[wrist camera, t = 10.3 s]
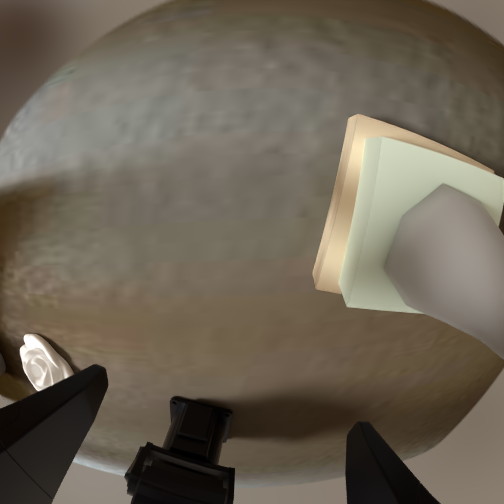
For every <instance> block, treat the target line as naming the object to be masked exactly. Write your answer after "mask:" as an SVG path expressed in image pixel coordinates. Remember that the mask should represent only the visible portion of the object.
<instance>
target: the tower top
mask: <svg viewBox="0 0 504 504" xmlns="http://www.w3.org/2000/svg"><path fill="white" fill-rule="evenodd" d="M442 183H443V184H445V185H447V186H450V187H452V188H454V189H456V190H458V191H460V192H462V193H464V194H466V195H468V196H470V197H472V198H474V199H476V200H478V201H480V202H481V204H482V205H483V206H484V207H485V209H486V210H487V211H488V213H489V214H490V216H491V217H492V218H493V220H494V221H495V223H496V224H497V226H498V227H499V222H500V218H501V214H502V209H503V204H504V179H503V178H501V177H499V176H497V175H495V174H492V173H490V172H488V171H485V170H483V169H480V168H478V167H475V166H473V165H470V164H468V163H465V162H463V161H460V160H457V159H454V158H452V157H449V156H446V155H443V154H440V153H437V152H434V151H431V150H428V149H425V148H422V147H418V146H415V145H412V144H408V143H405V142H401V141H397V140H394V139H390V138H386V137H372V138H365V143H364V150H363V158H362V165H361V171H360V178H359V184H358V190H357V196H356V202H355V207H354V213H353V218H352V223H351V228H350V233H349V238H348V243H347V247H346V252H345V256H344V261H343V265H342V269H341V273H340V278H339V282H338V284H339V286H340V289H341V292H342V294H343V297H344V300H345V303H346V305H347V307H353V308H363V309H374V310H385V311H397V312H410V313H422V312H419V311H417V310H415V309H413V308H411V307H409V306H406V305H405V303H404V301H403V299H402V298H401V296H400V294H399V293H398V291H397V289H396V288H395V286H394V284H393V283H392V281H391V280H390V278H389V276H388V275H387V273H386V272H385V270H384V265H385V262H386V260H387V257H388V255H389V252H390V249H391V247H392V244H393V241H394V238H395V235H396V233H397V230H398V227H399V224H400V221H401V218H402V215H404V214H405V213H406V212H407V211H409V210H410V209H411V208H412V207H414V206H415V205H416V204H417V203H419V202H420V201H421V200H422V199H424V198H425V197H426V196H427V195H429V194H430V193H431V192H432V191H434V190H435V189H436V188H437V187H438V186H440V185H441V184H442ZM423 314H424V313H423Z"/></svg>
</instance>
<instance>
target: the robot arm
mask: <svg viewBox="0 0 504 504" xmlns="http://www.w3.org/2000/svg"><path fill="white" fill-rule="evenodd" d="M107 388H108V378H107V372H106V369H105V368H104V367H102V366H100V365H98V364H94V365H92V366H90V367H88V368H86V369H83V370H81V371H79V372H77V373H75V374H73V375H71V376H69V377H67V378H65V379H63V380H61V381H59V382H57V383H55V384H53V385H51V386H49V387H47V388H45V389H43V390H40V391H38V392H36V393H34V394H32V395H30V396H28V397H26V398H24V399H22V400H21V401H20V400H19V401H17V402H15V403H13V404H10V405H8V406H6V407H3V408H0V504H52V501H53V499H54V497H55V495H56V493H57V491H58V488H59V487H60V484H61V482H62V481H63V479H64V477H65V475H66V473H67V471H68V469H69V467H70V465H71V463H72V461H73V459H74V457H75V455H76V453H77V451H78V450H79V448H80V446H81V444H82V442H83V440H84V438H85V437H86V435H87V433H88V431H89V429H90V427H91V426H92V424H93V422H94V420H95V417H96V415H97V413H98V410H99V408H100V405H101V403H102V400H103V398H104V395H105V393H106V391H107ZM170 414H171V425H170V428H169V431H168V433H167V436H166V439H165V441H164V444H163V447H162V448H161V447H158V446H156V445H153V443H150V442H147V444H146V446H145V447H140V449H139V451H138V453H137V456H136V458H135V460H134V461H133V463H132V464H131V466H130V467H129V469H128V470H127V472H126V474H125V476H124V478H125V479H126V481H127V487H128V489H127V494H129V495H131V496H133V498H132V501H131V504H233V500H234V481H235V468H231V467H229V468H228V467H224V466H220V465H218V463H219V458H220V453H221V448H222V443H225V442H226V441H227V436H228V432H229V428H230V423H231V419H232V414H233V412H232V411H230V410H227V409H222V408H217V407H212V406H208V405H204V404H199V403H195V402H191V401H187V400H183V399H180V398H176V397H172V398H171V400H170ZM150 465H151V466H150ZM345 474H346V490H347V504H441V503H439V502H438V501H437V500H436V499H435V498H434V497H433V496H432V495H431V494H430V493H429V491H428V490H427V489H426V488H425V487H424V486H423V485H422V484H421V483H420V481H419V480H418V479H417V478H416V477H415V476H414V475H413V473H412V472H411V471H410V470H409V469H408V467H407V466H406V465H405V464H404V463H403V462H402V460H401V459H400V458H399V457H398V456H397V455H396V453H395V452H394V451H393V450H392V449H391V448H390V446H389V445H388V444H387V443H386V442H385V440H384V439H383V438H382V437H381V436H380V434H379V433H378V432H377V431H376V430H375V429H374V427H373V426H372V425H371V424H370V423H369V422H368V421H358V422H356V424H355V425H354V426H353V428H352V429H351V430H350V432H349V433H348V435H347V446H346V471H345Z"/></svg>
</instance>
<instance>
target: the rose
mask: <svg viewBox="0 0 504 504" xmlns="http://www.w3.org/2000/svg"><path fill="white" fill-rule="evenodd" d="M24 341H25V345H23V346H22V347H21V348H20V356H21V360H22V363H23V369H24V372H25V373H26V375H27V376H28V378H29V380H30V381H31V383H32V384H33V386H34V387H35V388H36V390H38V391H40V390H43V389H45V388H47V387H49V386H51V385H53V384H55V383H57V382H59V381H61V380H63V379H65V378H67V377H69V376H71V375H73V374H74V373H73V371H72V369H71V367H70V366H69V364H68V363H67V361H66V360H65V359H63V358H62V357H61V356H60V355H59V354H58V353H57V352H56V351H55V350H54V349H53V347H52V346H51V345H50V344H49V343H48V342H47V341H46V340H45V339H43V338H42V337H41V336H39V335H37V334H26V335H25V336H24Z"/></svg>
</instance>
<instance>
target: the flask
mask: <svg viewBox="0 0 504 504" xmlns="http://www.w3.org/2000/svg"><path fill="white" fill-rule="evenodd" d="M384 270H385V272H386V273H387V275H388V276H389V278H390V280H391V281H392V283H393V284H394V286H395V288H396V289H397V291H398V293H399V294H400V296H401V298H402V299H403V301H404V303H405V305H406V306H409V307H411V308H413V309H415V310H417V311H419V312H422V313H424V314H426V315H429V316H431V317H434V318H436V319H438V320H441V321H443V322H445V323H447V324H449V325H451V326H453V327H455V328H457V329H459V330H461V331H463V332H465V333H467V334H469V335H471V336H473V337H475V338H477V339H479V340H480V341H482V342H483V343H484V344H485V345H487V346H488V347H489V348H490V349H491V350H493V351H494V352H495V353H496V354H497V355H499V356H500V357H501V358H502V359H503V360H504V235H503V234H502V232H501V230H500V229H499V227H498V226H497V224H496V223H495V221H494V220H493V218H492V217H491V216H490V214H489V213H488V211H487V210H486V209H485V207H484V206H483V205H482V204H481V202H480V201H478V200H476V199H474V198H472V197H470V196H468V195H466V194H464V193H462V192H460V191H458V190H456V189H454V188H452V187H450V186H447V185H445V184H443V183H442V184H441V185H440V186H438V187H437V188H436V189H435V190H434V191H432V192H431V193H430V194H429V195H427V196H426V197H425V198H424V199H422V200H421V201H420V202H419V203H417V204H416V205H415V206H414V207H412V208H411V209H410V210H409V211H407V212H406V213H405V214H404V215H402V218H401V221H400V224H399V227H398V230H397V233H396V235H395V238H394V241H393V244H392V247H391V249H390V252H389V255H388V257H387V260H386V262H385V265H384Z"/></svg>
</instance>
